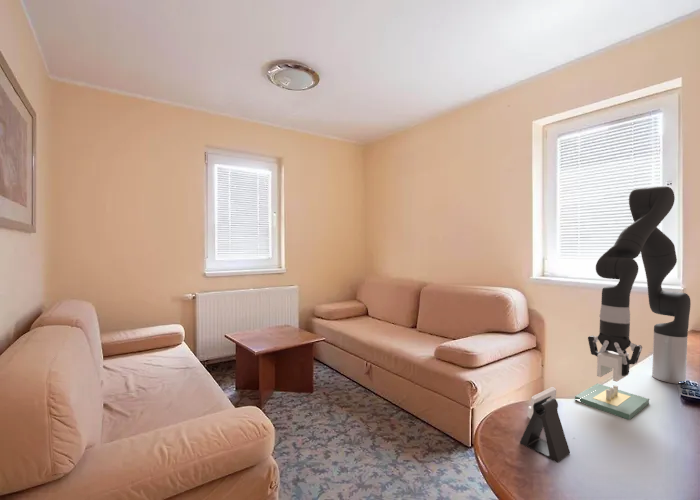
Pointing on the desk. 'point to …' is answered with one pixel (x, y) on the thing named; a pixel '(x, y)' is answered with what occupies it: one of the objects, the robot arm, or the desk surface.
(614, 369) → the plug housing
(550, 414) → the phone stand
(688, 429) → the desk surface
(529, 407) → the white wedge bracket
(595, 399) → the header board
